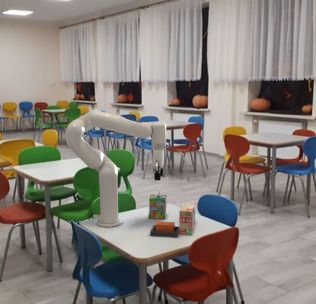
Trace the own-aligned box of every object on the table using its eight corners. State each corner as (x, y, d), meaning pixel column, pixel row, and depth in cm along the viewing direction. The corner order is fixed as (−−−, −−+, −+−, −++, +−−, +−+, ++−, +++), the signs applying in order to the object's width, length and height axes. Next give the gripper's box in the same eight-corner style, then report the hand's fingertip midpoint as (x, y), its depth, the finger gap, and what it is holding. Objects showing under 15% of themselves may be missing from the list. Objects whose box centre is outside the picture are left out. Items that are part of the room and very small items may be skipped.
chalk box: (150, 213, 241) (150, 188, 239) (166, 214, 240) (166, 189, 238) (148, 218, 232) (148, 192, 230) (165, 219, 231) (165, 193, 229)
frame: (150, 235, 207) (150, 231, 207) (153, 229, 217) (153, 225, 216) (177, 237, 205) (177, 233, 204) (179, 230, 214) (179, 226, 214)
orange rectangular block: (155, 233, 209) (155, 224, 208) (156, 229, 214) (156, 221, 213) (173, 234, 207) (173, 225, 207) (174, 230, 212) (174, 222, 212)
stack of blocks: (183, 220, 229) (183, 198, 227) (195, 221, 228) (195, 199, 226) (179, 234, 209) (179, 210, 207) (191, 235, 208) (192, 211, 206)
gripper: (154, 143, 229) (154, 174, 232) (148, 148, 213) (149, 181, 215) (167, 144, 228) (167, 174, 231) (163, 149, 211) (163, 182, 214)
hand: (158, 178), depth 223 cm, fingers open, 9 cm apart
